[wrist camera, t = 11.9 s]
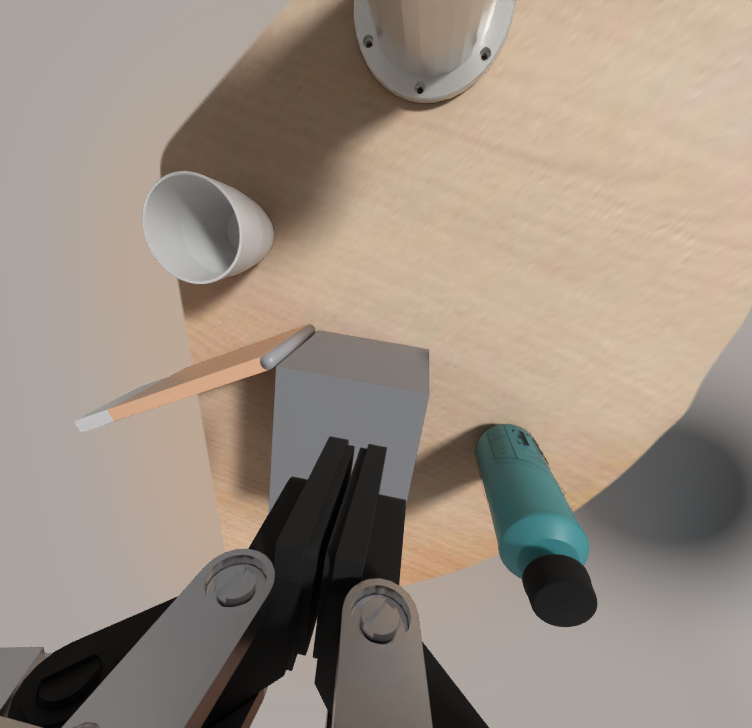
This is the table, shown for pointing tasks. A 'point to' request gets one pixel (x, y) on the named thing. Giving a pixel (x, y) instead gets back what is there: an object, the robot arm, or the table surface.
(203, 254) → the cup
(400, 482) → the grey smooth box
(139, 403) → the door
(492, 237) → the table surface
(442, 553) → the table surface
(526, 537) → the beverage bottle
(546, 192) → the table surface
